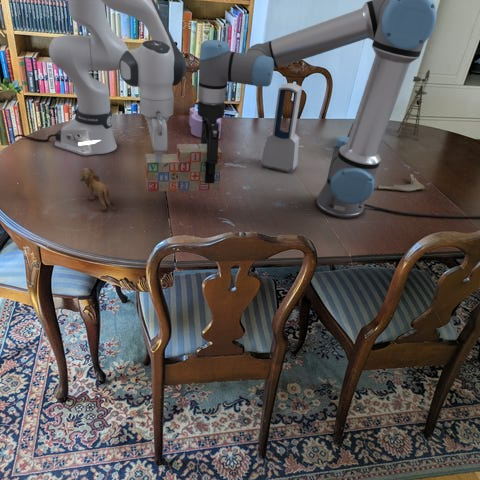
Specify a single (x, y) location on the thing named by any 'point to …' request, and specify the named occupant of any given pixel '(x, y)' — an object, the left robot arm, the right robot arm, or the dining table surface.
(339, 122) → the dining table surface
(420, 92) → the miniature windmill
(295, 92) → the electronic device
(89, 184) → the lion figurine
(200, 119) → the clip
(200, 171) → the stack of blocks
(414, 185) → the jawbone
